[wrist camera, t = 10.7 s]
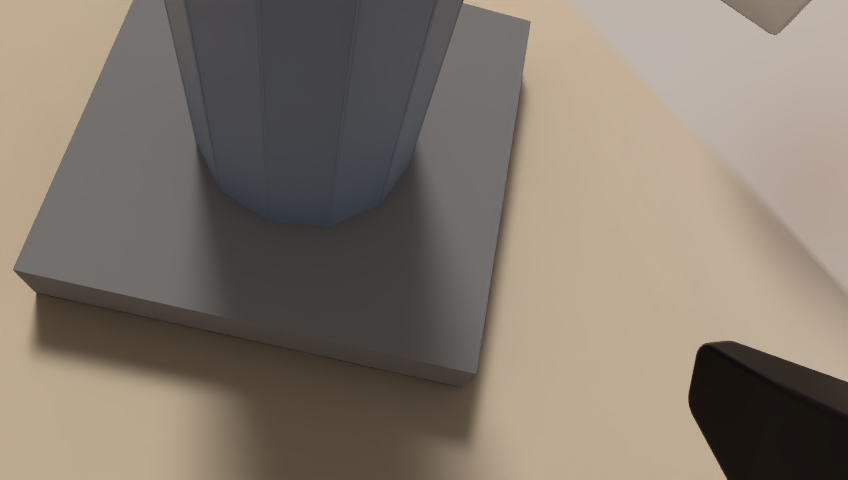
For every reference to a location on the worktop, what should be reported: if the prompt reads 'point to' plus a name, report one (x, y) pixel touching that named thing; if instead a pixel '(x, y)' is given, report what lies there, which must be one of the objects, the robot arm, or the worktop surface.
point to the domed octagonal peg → (309, 97)
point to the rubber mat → (279, 242)
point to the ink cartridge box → (769, 12)
